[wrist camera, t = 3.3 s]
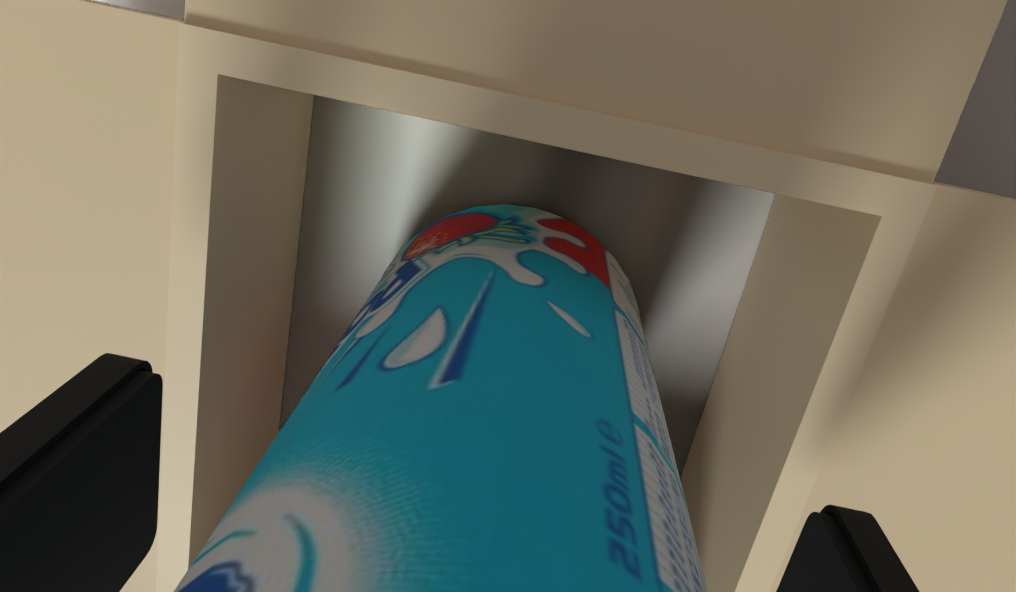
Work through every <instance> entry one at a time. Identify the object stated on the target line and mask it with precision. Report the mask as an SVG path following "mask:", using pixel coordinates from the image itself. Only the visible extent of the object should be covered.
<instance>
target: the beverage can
mask: <svg viewBox="0 0 1016 592" xmlns="http://www.w3.org/2000/svg"><path fill="white" fill-rule="evenodd" d="M174 592H708V590H707V586H706V581H705V577H704V573H703V569H702V565H701V561H700V557H699V553H698V549H697V545H696V541H695V537H694V533H693V529H692V525H691V521H690V517H689V513H688V509H687V505H686V501H685V497H684V493H683V489H682V485H681V481H680V477H679V473H678V469H677V465H676V461H675V457H674V452H673V448H672V444H671V440H670V436H669V432H668V428H667V424H666V420H665V416H664V412H663V408H662V404H661V400H660V396H659V392H658V388H657V384H656V380H655V376H654V372H653V368H652V364H651V360H650V356H649V352H648V348H647V344H646V340H645V336H644V332H643V328H642V324H641V320H640V316H639V308H638V305H637V302H636V299H635V296H634V293H633V290H632V287H631V285H630V282H629V280H628V278H627V277H626V275H625V273H624V272H623V270H622V269H621V267H620V266H619V264H618V262H617V261H616V259H615V258H614V256H613V255H612V254H611V253H610V252H609V251H608V250H607V249H606V248H605V247H604V246H603V245H602V244H601V243H600V242H599V241H598V240H597V239H596V238H595V237H594V236H593V235H591V234H590V233H588V232H586V231H585V230H583V229H582V228H580V227H578V226H577V225H575V224H574V223H572V222H570V221H569V220H567V219H566V218H563V217H560V216H557V215H554V214H552V213H549V212H546V211H543V210H540V209H537V208H532V207H524V206H516V205H508V204H501V205H489V206H477V207H473V208H469V209H466V210H463V211H460V212H456V213H453V214H450V215H447V216H445V217H443V218H441V219H440V220H438V221H436V222H434V223H433V224H431V225H429V226H427V227H425V228H424V229H422V230H421V231H420V232H419V233H418V234H416V235H415V236H414V237H413V238H412V239H411V240H410V241H409V242H408V243H407V244H405V245H404V246H403V247H402V248H401V249H400V250H399V252H398V253H397V255H396V256H395V258H394V259H393V261H392V262H391V264H390V265H389V267H388V268H387V269H386V271H385V272H384V274H383V277H382V279H381V280H380V282H379V283H378V285H377V286H376V288H375V289H374V291H373V292H372V294H371V295H370V297H369V298H368V300H367V301H366V303H365V304H364V306H363V307H362V309H361V310H360V312H359V313H358V315H357V316H356V318H355V319H354V321H353V322H352V324H351V325H350V327H349V328H348V330H347V331H346V333H345V334H344V336H343V337H342V339H341V340H340V342H339V343H338V345H337V346H336V348H335V349H334V351H333V352H332V354H331V355H330V357H329V358H328V360H327V361H326V363H325V364H324V366H323V367H322V369H321V370H320V372H319V373H318V375H317V376H316V378H315V379H314V381H313V382H312V384H311V385H310V387H309V388H308V390H307V391H306V393H305V394H304V396H303V397H302V399H301V400H300V402H299V403H298V405H297V406H296V408H295V409H294V411H293V412H292V414H291V415H290V417H289V418H288V420H287V421H286V423H285V424H284V426H283V427H282V429H281V430H280V432H279V433H278V435H277V436H276V438H275V439H274V441H273V442H272V444H271V445H270V447H269V448H268V450H267V451H266V453H265V454H264V456H263V457H262V459H261V460H260V462H259V463H258V465H257V466H256V468H255V469H254V471H253V472H252V474H251V475H250V477H249V478H248V480H247V481H246V483H245V484H244V486H243V487H242V489H241V490H240V492H239V493H238V495H237V496H236V498H235V499H234V501H233V502H232V504H231V505H230V507H229V508H228V510H227V511H226V513H225V514H224V516H223V517H222V519H221V520H220V522H219V523H218V525H217V527H216V528H215V530H214V531H213V533H212V534H211V536H210V537H209V539H208V540H207V542H206V543H205V545H204V546H203V548H202V549H201V551H200V552H199V554H198V555H197V557H196V558H195V560H194V561H193V563H192V565H191V566H190V568H189V569H188V571H187V572H186V574H185V575H184V577H183V578H182V580H181V581H180V583H179V584H178V586H177V587H176V589H175V590H174Z"/></svg>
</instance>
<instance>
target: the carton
mask: <svg viewBox="0 0 1016 592" xmlns="http://www.w3.org/2000/svg"><path fill="white" fill-rule="evenodd" d="M1007 2H1008V0H185V13H184V20H181V19H176V18H172V17H167V16H162V15H158V14H153V13H148V12H144V11H139V10H134V9H130V8H125V7H121V6H116V5H111V4H107V3H102V2H97V1H93V0H0V433H1V432H2V431H3V430H5V429H6V428H7V427H9V426H10V425H11V424H12V423H14V422H15V421H16V420H18V419H19V418H20V417H22V416H23V415H24V414H25V413H27V412H28V411H29V410H31V409H32V408H33V407H35V406H36V405H37V404H38V403H40V402H41V401H42V400H44V399H45V398H46V397H48V396H49V395H50V394H51V393H53V392H54V391H55V390H57V389H58V388H59V387H61V386H62V385H63V384H64V383H66V382H67V381H68V380H70V379H71V378H72V377H74V376H75V375H76V374H78V373H79V372H80V371H81V370H83V369H84V368H85V367H87V366H88V365H89V364H91V363H92V362H93V361H94V360H96V359H97V358H98V357H100V356H101V355H103V354H105V353H111V354H116V355H121V356H126V357H131V358H135V359H140V360H145V361H148V362H149V363H150V364H151V367H152V370H153V373H157V374H160V375H161V377H162V380H163V395H162V420H161V445H160V470H159V495H158V520H157V532H156V536H155V539H154V542H153V545H152V547H151V549H150V551H149V552H148V554H147V556H146V557H145V558H144V560H143V561H142V562H141V564H140V565H139V566H138V568H137V569H136V570H135V572H134V573H133V574H132V576H131V577H130V578H129V580H128V581H127V582H126V584H125V585H124V586H123V588H122V589H121V590H120V592H174V590H175V589H176V587H177V586H178V584H179V583H180V581H181V580H182V578H183V577H184V575H185V574H186V572H187V571H188V569H189V568H190V566H191V565H192V563H193V561H194V560H195V558H196V557H197V555H198V554H199V552H200V551H201V549H202V548H203V546H204V545H205V543H206V542H207V540H208V539H209V537H210V536H211V534H212V533H213V531H214V530H215V528H216V527H217V525H218V523H219V522H220V520H221V519H222V517H223V516H224V514H225V513H226V511H227V510H228V508H229V507H230V505H231V504H232V502H233V501H234V499H235V498H236V496H237V495H238V493H239V492H240V490H241V489H242V487H243V486H244V484H245V483H246V481H247V480H248V478H249V477H250V475H251V474H252V472H253V471H254V469H255V468H256V466H257V465H258V463H259V462H260V460H261V459H262V457H263V456H264V454H265V453H266V451H267V450H268V448H269V447H270V445H271V444H272V442H273V441H274V439H275V438H276V436H277V435H278V433H279V424H280V415H281V405H282V396H283V386H284V377H285V367H286V358H287V348H288V339H289V329H290V320H291V310H292V301H293V291H294V282H295V272H296V263H297V253H298V244H299V234H300V225H301V215H302V206H303V196H304V187H305V177H306V168H307V158H308V149H309V139H310V130H311V120H312V111H313V101H314V95H318V96H323V97H327V98H332V99H337V100H341V101H346V102H351V103H355V104H360V105H365V106H369V107H374V108H379V109H383V110H388V111H393V112H397V113H402V114H407V115H411V116H416V117H421V118H425V119H430V120H435V121H439V122H444V123H449V124H453V125H458V126H463V127H467V128H472V129H477V130H481V131H486V132H491V133H495V134H500V135H505V136H509V137H514V138H519V139H523V140H528V141H533V142H537V143H542V144H547V145H551V146H556V147H561V148H565V149H570V150H575V151H579V152H584V153H589V154H593V155H598V156H603V157H607V158H612V159H617V160H621V161H626V162H631V163H635V164H640V165H645V166H650V167H654V168H659V169H664V170H668V171H673V172H678V173H682V174H687V175H692V176H696V177H701V178H706V179H710V180H715V181H720V182H724V183H729V184H734V185H738V186H743V187H748V188H752V189H757V190H762V191H766V192H771V193H776V196H775V199H774V202H773V205H772V208H771V211H770V214H769V217H768V220H767V223H766V226H765V229H764V232H763V235H762V238H761V241H760V244H759V246H758V249H757V252H756V255H755V258H754V261H753V264H752V267H751V270H750V273H749V276H748V279H747V282H746V285H745V288H744V291H743V294H742V297H741V300H740V303H739V306H738V309H737V312H736V315H735V318H734V321H733V324H732V327H731V330H730V333H729V336H728V339H727V342H726V345H725V348H724V351H723V354H722V357H721V360H720V363H719V366H718V369H717V371H716V374H715V377H714V380H713V383H712V386H711V389H710V392H709V395H708V398H707V401H706V404H705V407H704V410H703V413H702V416H701V419H700V422H699V425H698V428H697V431H696V434H695V437H694V440H693V443H692V446H691V449H690V452H689V455H688V458H687V461H686V464H685V467H684V470H683V473H682V476H681V479H680V481H681V485H682V489H683V493H684V497H685V501H686V505H687V509H688V513H689V517H690V521H691V525H692V529H693V533H694V537H695V541H696V545H697V549H698V553H699V557H700V561H701V565H702V569H703V573H704V577H705V581H706V586H707V590H708V592H776V591H777V589H778V586H779V584H780V581H781V579H782V577H783V574H784V572H785V569H786V567H787V565H788V562H789V560H790V557H791V555H792V553H793V550H794V548H795V545H796V543H797V541H798V538H799V536H800V533H801V531H802V529H803V526H804V524H805V522H806V519H807V518H808V516H809V515H810V514H811V513H812V512H819V513H820V512H821V510H822V509H823V508H824V507H825V506H827V505H830V504H831V505H835V506H840V507H845V508H850V509H854V510H859V511H864V512H868V513H870V514H872V515H873V516H874V518H875V519H876V520H877V522H878V524H879V525H880V527H881V529H882V530H883V532H884V534H885V535H886V537H887V539H888V540H889V542H890V544H891V545H892V547H893V549H894V550H895V552H896V554H897V555H898V557H899V559H900V560H901V562H902V564H903V565H904V567H905V569H906V570H907V572H908V573H909V575H910V577H911V578H912V580H913V582H914V583H915V585H916V587H917V588H918V590H919V592H1016V199H1015V198H1010V197H1006V196H1001V195H996V194H992V193H987V192H982V191H978V190H973V189H968V188H964V187H959V186H954V185H950V184H945V183H940V182H936V181H934V180H935V177H936V175H937V172H938V170H939V167H940V165H941V162H942V160H943V158H944V155H945V153H946V150H947V148H948V145H949V143H950V141H951V138H952V136H953V133H954V131H955V128H956V126H957V124H958V121H959V119H960V116H961V114H962V111H963V109H964V106H965V104H966V102H967V99H968V97H969V94H970V92H971V89H972V87H973V85H974V82H975V80H976V77H977V75H978V72H979V70H980V67H981V65H982V63H983V60H984V58H985V55H986V53H987V50H988V48H989V46H990V43H991V41H992V38H993V36H994V33H995V31H996V28H997V26H998V24H999V21H1000V19H1001V16H1002V14H1003V11H1004V9H1005V7H1006V4H1007Z"/></svg>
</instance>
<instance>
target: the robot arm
mask: <svg viewBox="0 0 1016 592" xmlns="http://www.w3.org/2000/svg"><path fill="white" fill-rule="evenodd" d="M162 395H163V380H162V377H161V375H160V374H157V373H153V370H152V367H151V364H150V363H149V362H148V361H145V360H140V359H135V358H131V357H126V356H121V355H116V354H111V353H105V354H103V355H101V356H100V357H98V358H97V359H96V360H94V361H93V362H92V363H91V364H89V365H88V366H87V367H85V368H84V369H83V370H81V371H80V372H79V373H78V374H76V375H75V376H74V377H72V378H71V379H70V380H68V381H67V382H66V383H64V384H63V385H62V386H61V387H59V388H58V389H57V390H55V391H54V392H53V393H51V394H50V395H49V396H48V397H46V398H45V399H44V400H42V401H41V402H40V403H38V404H37V405H36V406H35V407H33V408H32V409H31V410H29V411H28V412H27V413H25V414H24V415H23V416H22V417H20V418H19V419H18V420H16V421H15V422H14V423H12V424H11V425H10V426H9V427H7V428H6V429H5V430H3V431H2V432H1V433H0V592H120V590H121V589H122V588H123V586H124V585H125V584H126V582H127V581H128V580H129V578H130V577H131V576H132V574H133V573H134V572H135V570H136V569H137V568H138V566H139V565H140V564H141V562H142V561H143V560H144V558H145V557H146V556H147V554H148V552H149V551H150V549H151V547H152V545H153V542H154V539H155V536H156V532H157V520H158V495H159V470H160V445H161V420H162ZM776 592H919V590H918V588H917V587H916V585H915V583H914V582H913V580H912V578H911V577H910V575H909V573H908V572H907V570H906V569H905V567H904V565H903V564H902V562H901V560H900V559H899V557H898V555H897V554H896V552H895V550H894V549H893V547H892V545H891V544H890V542H889V540H888V539H887V537H886V535H885V534H884V532H883V530H882V529H881V527H880V525H879V524H878V522H877V520H876V519H875V518H874V516H873V515H872V514H870V513H868V512H864V511H859V510H854V509H850V508H845V507H840V506H835V505H831V504H830V505H827V506H825V507H824V508H823V509H822V510H821V512H820V513H819V512H812V513H811V514H810V515H809V516H808V518H807V519H806V522H805V524H804V526H803V529H802V531H801V533H800V536H799V538H798V541H797V543H796V545H795V548H794V550H793V553H792V555H791V557H790V560H789V562H788V565H787V567H786V569H785V572H784V574H783V577H782V579H781V581H780V584H779V586H778V589H777V591H776Z"/></svg>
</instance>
